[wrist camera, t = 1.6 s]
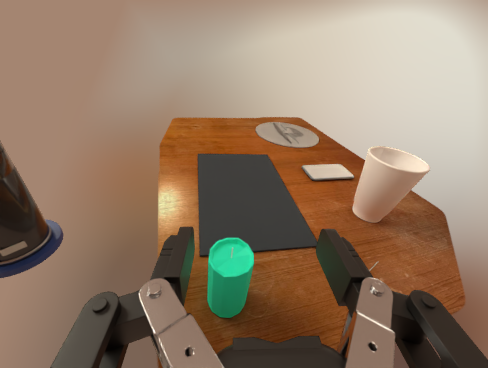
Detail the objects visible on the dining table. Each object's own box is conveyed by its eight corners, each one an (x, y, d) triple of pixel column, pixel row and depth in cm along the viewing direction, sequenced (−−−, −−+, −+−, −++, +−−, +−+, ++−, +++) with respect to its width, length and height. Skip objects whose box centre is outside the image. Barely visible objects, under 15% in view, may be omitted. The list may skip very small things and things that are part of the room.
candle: (215, 275, 37) (218, 225, 30) (249, 286, 36) (260, 236, 29) (200, 310, 32) (200, 260, 25) (239, 324, 31) (249, 275, 24)
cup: (352, 227, 50) (385, 168, 41) (336, 196, 60) (359, 143, 51) (401, 232, 51) (445, 175, 42) (377, 200, 60) (408, 148, 51)
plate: (250, 121, 105) (250, 119, 104) (303, 124, 110) (303, 121, 110) (264, 146, 82) (265, 143, 82) (330, 148, 88) (331, 145, 87)
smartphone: (301, 165, 71) (340, 163, 75) (300, 167, 72) (339, 166, 75) (313, 179, 65) (355, 176, 68) (312, 181, 65) (354, 179, 69)
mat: (199, 256, 39) (199, 255, 39) (197, 154, 71) (197, 153, 71) (318, 246, 44) (319, 245, 44) (267, 155, 76) (267, 154, 76)
